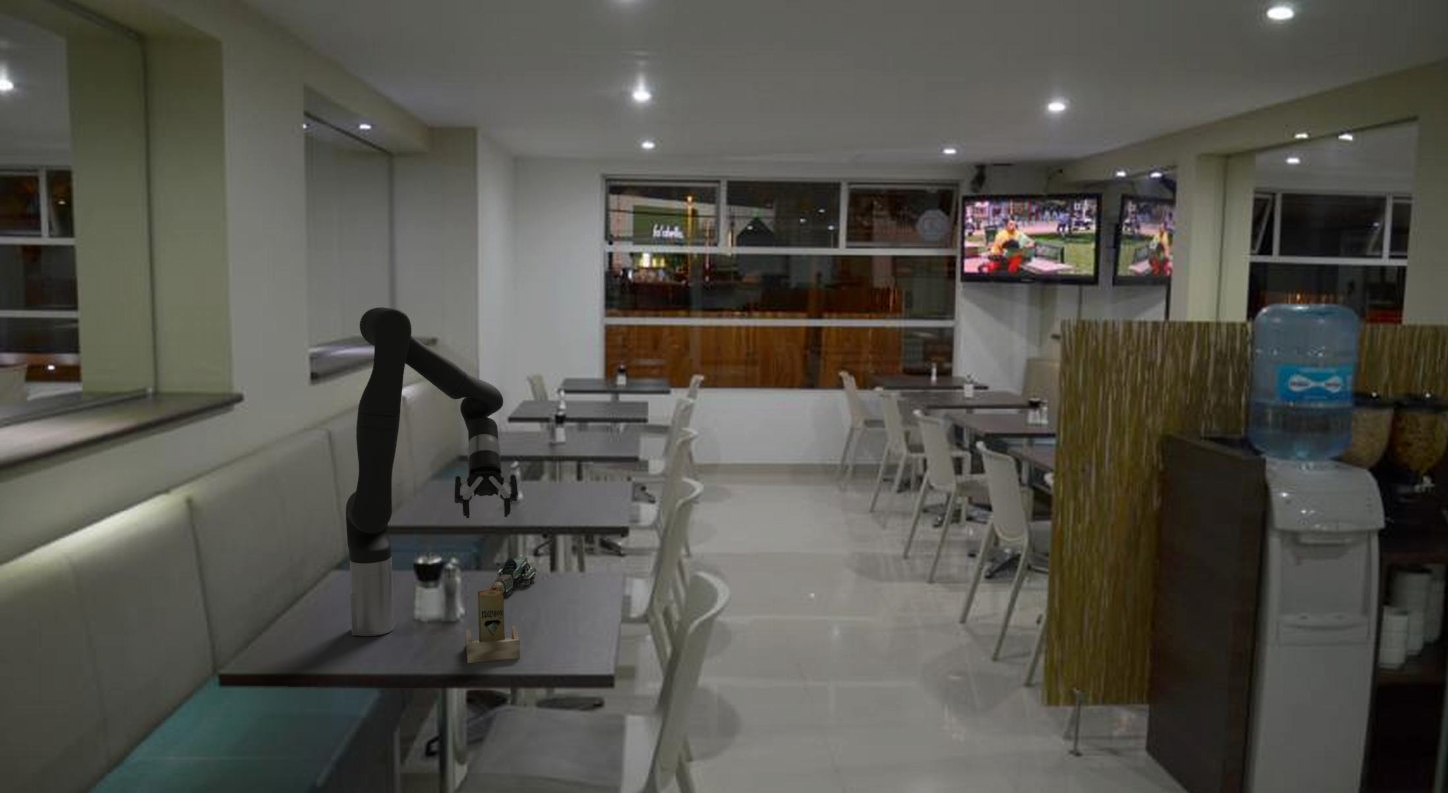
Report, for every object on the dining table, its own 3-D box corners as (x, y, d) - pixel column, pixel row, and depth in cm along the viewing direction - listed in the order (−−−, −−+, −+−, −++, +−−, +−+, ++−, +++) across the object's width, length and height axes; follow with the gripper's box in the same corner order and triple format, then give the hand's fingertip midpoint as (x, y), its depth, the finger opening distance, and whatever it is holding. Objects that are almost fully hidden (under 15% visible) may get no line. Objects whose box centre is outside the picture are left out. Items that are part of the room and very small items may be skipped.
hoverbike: (541, 577, 291) (540, 547, 290) (512, 604, 267) (511, 572, 266) (507, 575, 293) (507, 546, 292) (476, 603, 268) (475, 571, 267)
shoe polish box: (479, 643, 234) (477, 591, 233) (501, 641, 236) (500, 589, 235) (481, 651, 230) (480, 597, 228) (504, 648, 231) (503, 595, 230)
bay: (467, 662, 226) (467, 644, 226) (466, 645, 237) (465, 628, 237) (519, 657, 229) (519, 640, 229) (516, 640, 240) (515, 623, 239)
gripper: (453, 449, 246) (455, 507, 236) (515, 448, 250) (520, 505, 240) (453, 468, 252) (454, 526, 242) (513, 466, 256) (517, 523, 246)
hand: (487, 515), depth 241 cm, fingers open, 8 cm apart
